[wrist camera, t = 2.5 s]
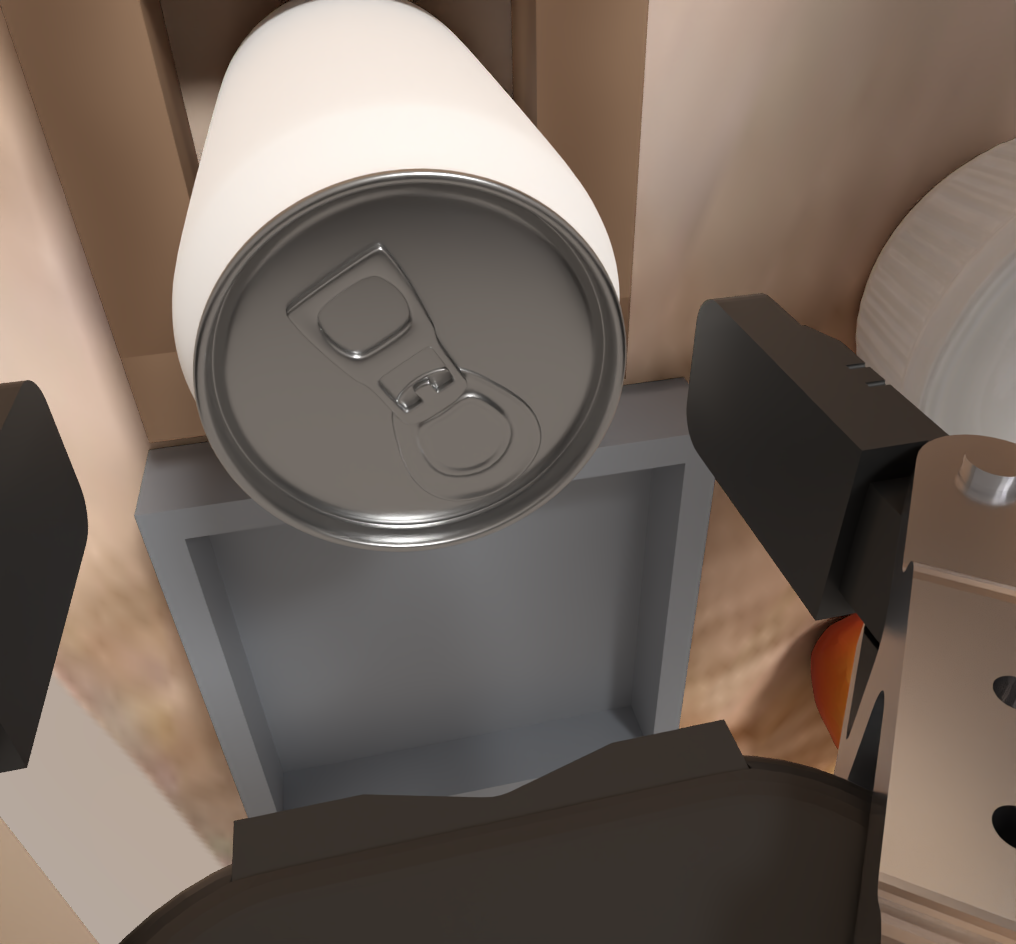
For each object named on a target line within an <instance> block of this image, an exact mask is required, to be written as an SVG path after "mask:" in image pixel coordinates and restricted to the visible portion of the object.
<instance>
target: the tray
mask: <svg viewBox="0 0 1016 944" xmlns="http://www.w3.org/2000/svg"><path fill="white" fill-rule="evenodd" d="M688 389H689V384H688V383H687V381H686V380H685V378H684V377H682V378H674V379H667V380H660V381H652V382H645V383H638V384H630V385H623V388H622V392H621V396H620V399H619V403H618V406H617V409H616V411H615V414H614V417H613V419H612V421H611V424H610V426H609V428H608V430H607V432H606V434H605V436H604V437H603V439H602V441H601V443H600V444H599V446H598V448H597V449H596V451H595V452H594V454H593V455H592V456H591V458H590V459H589V460H588V462H587V463H586V464H585V466H584V467H583V468H582V469H581V470H580V472H579V473H578V474H577V475H576V476H575V477H574V478H573V479H572V480H571V481H570V482H569V483H568V484H567V485H566V486H565V487H564V488H563V489H562V490H561V491H560V492H559V493H558V494H556V495H555V496H554V497H553V498H552V499H550V500H549V501H548V502H546V503H545V504H544V505H542V506H541V507H540V508H538V509H537V510H535V511H534V512H532V513H531V514H529V515H527V516H526V517H524V518H522V519H521V520H519V521H517V522H515V523H513V524H511V525H509V526H507V527H505V528H503V529H501V530H499V531H496V532H494V533H492V534H489V535H487V536H484V537H481V538H478V539H475V540H472V541H469V542H465V543H462V544H457V545H453V546H449V547H444V548H438V549H431V550H422V551H406V552H392V551H375V550H367V549H360V548H354V547H349V546H345V545H340V544H337V543H333V542H330V541H326V540H323V539H320V538H318V537H315V536H312V535H310V534H307V533H305V532H303V531H301V530H299V529H297V528H295V527H293V526H291V525H289V524H287V523H285V522H284V521H282V520H280V519H279V518H277V517H275V516H274V515H273V514H271V513H270V512H268V511H267V510H265V509H264V508H263V507H261V506H260V505H259V504H258V503H257V502H255V501H254V500H253V499H252V498H251V497H250V496H249V495H248V494H246V493H245V492H244V491H243V490H242V488H241V487H240V486H239V485H238V484H237V483H236V482H235V481H234V480H233V479H232V477H231V476H230V475H229V473H228V472H227V471H226V469H225V468H224V467H223V465H222V464H221V462H220V461H219V459H218V458H217V456H216V454H215V452H214V451H213V449H212V447H211V445H210V443H209V442H204V443H197V444H190V445H182V446H175V447H168V448H160V449H153V450H149V452H148V456H147V461H146V465H145V470H144V474H143V479H142V483H141V488H140V492H139V497H138V501H137V506H136V510H135V515H134V516H135V519H136V522H137V524H138V527H139V530H140V532H141V535H142V538H143V540H144V543H145V546H146V548H147V551H148V554H149V556H150V559H151V562H152V564H153V567H154V570H155V572H156V575H157V577H158V580H159V583H160V585H161V588H162V591H163V593H164V596H165V599H166V601H167V604H168V607H169V609H170V612H171V615H172V617H173V620H174V623H175V625H176V628H177V631H178V633H179V636H180V638H181V641H182V644H183V646H184V649H185V652H186V654H187V657H188V660H189V662H190V665H191V668H192V670H193V673H194V676H195V678H196V681H197V684H198V686H199V689H200V692H201V694H202V697H203V699H204V702H205V705H206V707H207V710H208V713H209V715H210V718H211V721H212V723H213V726H214V729H215V731H216V734H217V737H218V739H219V742H220V745H221V747H222V750H223V753H224V755H225V758H226V760H227V763H228V766H229V768H230V771H231V774H232V776H233V779H234V782H235V784H236V787H237V790H238V792H239V795H240V798H241V800H242V803H243V806H244V808H245V811H246V814H247V816H248V818H251V817H256V816H261V815H266V814H270V813H275V812H280V811H285V810H290V809H295V808H299V807H304V806H309V805H314V804H319V803H324V802H328V801H333V800H338V799H343V798H348V797H353V796H357V795H362V794H372V795H412V796H453V797H494V796H499V795H503V794H505V793H508V792H511V791H513V790H515V789H517V788H519V787H521V786H523V785H525V784H527V783H529V782H531V781H533V780H535V779H538V778H540V777H542V776H544V775H546V774H548V773H550V772H552V771H554V770H556V769H558V768H560V767H563V766H565V765H567V764H569V763H571V762H573V761H575V760H577V759H579V758H581V757H583V756H585V755H588V754H590V753H592V752H594V751H596V750H598V749H600V748H602V747H604V746H606V745H608V744H610V743H613V742H618V741H623V740H628V739H632V738H637V737H642V736H647V735H652V734H657V733H661V732H666V731H671V730H676V729H679V723H680V717H681V710H682V703H683V696H684V689H685V682H686V675H687V668H688V662H689V655H690V648H691V641H692V634H693V627H694V620H695V613H696V607H697V600H698V593H699V586H700V579H701V572H702V565H703V559H704V552H705V545H706V538H707V531H708V524H709V517H710V510H711V504H712V497H713V490H714V483H715V477H714V476H713V474H712V473H711V472H710V470H709V469H708V467H707V466H706V465H705V463H704V462H703V460H702V459H701V457H700V456H699V455H698V453H697V452H696V450H695V448H694V446H693V444H692V441H691V438H690V435H689V431H688V425H687V415H686V407H687V397H688Z"/></svg>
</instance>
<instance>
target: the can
mask: <svg viewBox="0 0 1016 944" xmlns="http://www.w3.org/2000/svg"><path fill="white" fill-rule="evenodd" d="M172 319H173V331H174V339H175V345H176V350H177V354H178V358H179V362H180V365H181V369H182V371H183V374H184V377H185V380H186V382H187V384H188V387H189V389H190V391H191V393H192V395H193V397H194V399H195V401H196V405H197V409H198V413H199V417H200V420H201V423H202V426H203V429H204V431H205V434H206V436H207V438H208V441H209V443H210V445H211V447H212V449H213V451H214V452H215V454H216V456H217V458H218V459H219V461H220V462H221V464H222V465H223V467H224V468H225V469H226V471H227V472H228V473H229V475H230V476H231V477H232V479H233V480H234V481H235V482H236V483H237V484H238V485H239V486H240V487H241V488H242V490H243V491H244V492H245V493H246V494H248V495H249V496H250V497H251V498H252V499H253V500H254V501H255V502H257V503H258V504H259V505H260V506H261V507H263V508H264V509H265V510H267V511H268V512H270V513H271V514H273V515H274V516H275V517H277V518H279V519H280V520H282V521H284V522H285V523H287V524H289V525H291V526H293V527H295V528H297V529H299V530H301V531H303V532H305V533H307V534H310V535H312V536H315V537H318V538H320V539H323V540H326V541H330V542H333V543H337V544H340V545H345V546H349V547H354V548H360V549H367V550H375V551H392V552H406V551H422V550H431V549H438V548H444V547H449V546H453V545H457V544H462V543H465V542H469V541H472V540H475V539H478V538H481V537H484V536H487V535H489V534H492V533H494V532H496V531H499V530H501V529H503V528H505V527H507V526H509V525H511V524H513V523H515V522H517V521H519V520H521V519H522V518H524V517H526V516H527V515H529V514H531V513H532V512H534V511H535V510H537V509H538V508H540V507H541V506H542V505H544V504H545V503H546V502H548V501H549V500H550V499H552V498H553V497H554V496H555V495H556V494H558V493H559V492H560V491H561V490H562V489H563V488H564V487H565V486H566V485H567V484H568V483H569V482H570V481H571V480H572V479H573V478H574V477H575V476H576V475H577V474H578V473H579V472H580V470H581V469H582V468H583V467H584V466H585V464H586V463H587V462H588V460H589V459H590V458H591V456H592V455H593V454H594V452H595V451H596V449H597V448H598V446H599V444H600V443H601V441H602V439H603V437H604V436H605V434H606V432H607V430H608V428H609V426H610V424H611V421H612V419H613V417H614V414H615V411H616V409H617V406H618V403H619V399H620V396H621V392H622V388H623V383H624V377H625V370H626V357H627V345H626V332H625V325H624V319H623V314H622V310H621V306H620V294H619V280H618V272H617V266H616V261H615V257H614V253H613V249H612V246H611V243H610V240H609V237H608V234H607V231H606V229H605V227H604V224H603V222H602V220H601V218H600V216H599V214H598V212H597V209H596V208H595V206H594V204H593V202H592V200H591V198H590V197H589V195H588V193H587V192H586V190H585V189H584V187H583V186H582V184H581V183H580V181H579V180H578V179H577V177H576V176H575V175H574V173H573V172H572V171H571V169H570V168H569V167H568V165H567V164H566V163H565V161H564V160H563V159H562V158H561V156H560V155H559V154H558V153H557V152H556V150H555V149H554V148H553V147H552V146H551V144H550V143H549V142H548V141H547V140H546V138H545V137H544V136H543V135H542V134H541V132H540V131H539V130H538V129H537V128H536V127H535V125H534V124H533V123H532V122H531V121H530V119H529V118H528V117H527V116H526V115H525V114H524V112H523V111H522V110H521V109H520V108H519V107H518V105H517V104H516V103H515V102H514V101H513V100H512V98H511V97H510V96H509V95H508V94H507V93H506V91H505V90H504V89H503V88H502V87H501V86H500V84H499V83H498V82H497V81H496V80H495V79H494V78H493V76H492V75H491V74H490V73H489V72H488V71H487V70H486V68H485V67H484V66H483V65H482V64H481V63H480V62H479V60H478V59H477V58H476V57H475V56H474V55H473V54H472V53H471V51H470V50H469V49H468V48H467V47H466V46H465V45H464V44H463V43H462V42H461V41H460V40H459V38H458V37H457V36H456V35H455V34H454V33H453V32H452V31H451V30H450V29H449V28H447V27H446V26H445V25H444V24H443V23H442V22H441V21H439V20H438V19H437V18H436V17H434V16H433V15H432V14H430V13H429V12H427V11H426V10H424V9H423V8H421V7H419V6H417V5H416V4H414V3H412V2H410V1H408V0H291V1H289V2H287V3H285V4H284V5H282V6H280V7H279V8H277V9H276V10H274V11H273V12H271V13H270V14H269V15H267V16H266V17H265V18H264V19H263V20H262V21H260V22H259V23H258V24H257V25H256V26H255V27H254V28H253V29H252V31H251V32H250V33H249V34H248V35H247V37H246V38H245V39H244V40H243V42H242V43H241V45H240V46H239V48H238V49H237V51H236V53H235V54H234V56H233V58H232V60H231V62H230V64H229V66H228V68H227V71H226V73H225V76H224V79H223V82H222V84H221V88H220V91H219V94H218V97H217V101H216V105H215V108H214V112H213V115H212V119H211V123H210V126H209V130H208V134H207V137H206V141H205V145H204V149H203V153H202V156H201V160H200V164H199V168H198V172H197V176H196V179H195V183H194V187H193V191H192V195H191V199H190V203H189V207H188V211H187V215H186V219H185V224H184V228H183V232H182V236H181V241H180V245H179V250H178V255H177V261H176V267H175V273H174V280H173V291H172Z"/></svg>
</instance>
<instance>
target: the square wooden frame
mask: <svg viewBox="0 0 1016 944" xmlns="http://www.w3.org/2000/svg"><path fill="white" fill-rule="evenodd" d="M0 5H1V8H2V11H3V14H4V17H5V20H6V23H7V26H8V29H9V32H10V35H11V38H12V41H13V44H14V47H15V50H16V52H17V55H18V58H19V61H20V64H21V67H22V70H23V73H24V76H25V79H26V82H27V85H28V88H29V91H30V94H31V96H32V99H33V102H34V105H35V108H36V111H37V114H38V117H39V120H40V123H41V126H42V129H43V132H44V135H45V138H46V141H47V143H48V146H49V149H50V152H51V155H52V158H53V161H54V164H55V167H56V170H57V173H58V176H59V179H60V182H61V185H62V188H63V190H64V193H65V196H66V199H67V202H68V205H69V208H70V211H71V214H72V217H73V220H74V223H75V226H76V229H77V232H78V234H79V237H80V240H81V243H82V246H83V249H84V252H85V255H86V258H87V261H88V264H89V267H90V270H91V273H92V276H93V279H94V281H95V284H96V287H97V290H98V293H99V296H100V299H101V302H102V305H103V308H104V311H105V314H106V317H107V320H108V323H109V325H110V328H111V331H112V334H113V337H114V340H115V343H116V346H117V349H118V352H119V355H120V358H121V361H122V364H123V367H124V370H125V372H126V375H127V378H128V381H129V384H130V387H131V390H132V393H133V396H134V399H135V402H136V405H137V408H138V411H139V414H140V416H141V419H142V422H143V425H144V428H145V431H146V434H147V437H148V440H149V443H153V442H161V441H168V440H175V439H183V438H190V437H198V436H205V435H206V434H205V431H204V429H203V426H202V423H201V420H200V417H199V413H198V409H197V405H196V401H195V399H194V397H193V395H192V393H191V391H190V389H189V387H188V384H187V382H186V380H185V377H184V374H183V371H182V369H181V365H180V362H179V358H178V354H177V350H176V345H175V339H174V331H173V319H172V291H173V280H174V273H175V267H176V261H177V255H178V250H179V245H180V241H181V236H182V232H183V228H184V224H185V219H186V215H187V211H188V207H189V203H190V199H191V195H192V191H193V187H194V183H195V179H196V176H197V172H198V168H199V163H198V159H197V155H196V151H195V147H194V143H193V138H192V134H191V130H190V126H189V122H188V118H187V114H186V109H185V105H184V101H183V97H182V93H181V89H180V85H179V80H178V76H177V72H176V68H175V64H174V60H173V56H172V51H171V47H170V43H169V39H168V35H167V31H166V27H165V22H164V18H163V14H162V10H161V6H160V2H159V0H0ZM648 5H649V0H511V24H512V66H513V101H514V102H515V103H516V104H517V105H518V107H519V108H520V109H521V110H522V111H523V112H524V114H525V115H526V116H527V117H528V118H529V119H530V121H531V122H532V123H533V124H534V125H535V127H536V128H537V129H538V130H539V131H540V132H541V134H542V135H543V136H544V137H545V138H546V140H547V141H548V142H549V143H550V144H551V146H552V147H553V148H554V149H555V150H556V152H557V153H558V154H559V155H560V156H561V158H562V159H563V160H564V161H565V163H566V164H567V165H568V167H569V168H570V169H571V171H572V172H573V173H574V175H575V176H576V177H577V179H578V180H579V181H580V183H581V184H582V186H583V187H584V189H585V190H586V192H587V193H588V195H589V197H590V198H591V200H592V202H593V204H594V206H595V208H596V209H597V212H598V214H599V216H600V218H601V220H602V222H603V224H604V227H605V229H606V231H607V234H608V237H609V240H610V243H611V246H612V249H613V253H614V257H615V261H616V266H617V272H618V280H619V294H620V306H621V310H622V314H623V319H624V325H625V332H626V345H627V347H628V331H629V314H630V298H631V282H632V266H633V249H634V233H635V217H636V200H637V184H638V168H639V152H640V135H641V119H642V103H643V87H644V70H645V54H646V38H647V22H648ZM626 363H627V357H626ZM624 379H626V370H625V377H624Z"/></svg>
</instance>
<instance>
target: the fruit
mask: <svg viewBox="0 0 1016 944" xmlns="http://www.w3.org/2000/svg"><path fill="white" fill-rule="evenodd" d="M863 624H864V623H863V621H862V620H861V619H860V617H859V616H858V615H857V613H853V614H852V615H850V616H848V617H846V618H844V619H842V620H840V621H838V622H836V623H834V624H832V625H831V626H829V627H828V628H827V629H826V630H825V631H824V632H823V634H822V635H821V637H820V638H819V639H818V641H817V642H816V644H815V646H814V648H813V651H812V654H811V679H812V686H813V693H814V698H815V702H816V705H817V708H818V711H819V713H820V715H821V718H822V719H823V721H824V723H825V725H826V727H827V729H828V731H829V733H830V735H831V737H832V739H833V742H834V744H835V746H836V747H837V749H839V744H840V738H841V732H842V726H843V721H844V715H845V709H846V703H847V698H848V692H849V686H850V680H851V675H852V669H853V663H854V657H855V652H856V646H857V642H858V639H859V636H860V633H861V630H862V627H863Z"/></svg>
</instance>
